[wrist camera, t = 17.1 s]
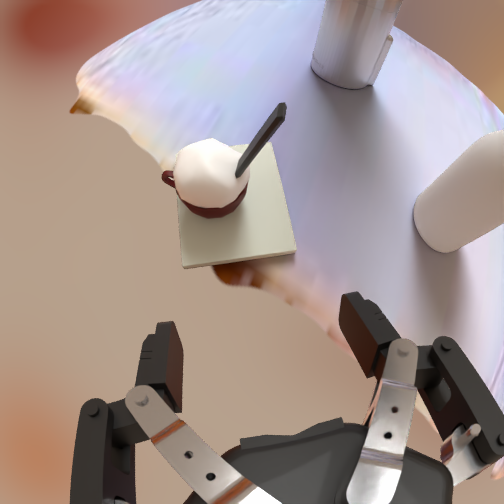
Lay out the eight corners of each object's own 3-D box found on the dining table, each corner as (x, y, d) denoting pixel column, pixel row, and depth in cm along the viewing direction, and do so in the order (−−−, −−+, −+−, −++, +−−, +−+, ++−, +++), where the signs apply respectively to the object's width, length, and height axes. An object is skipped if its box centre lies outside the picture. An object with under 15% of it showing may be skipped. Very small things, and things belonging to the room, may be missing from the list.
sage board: (270, 147, 29) (270, 142, 28) (294, 253, 25) (296, 249, 25) (177, 159, 28) (175, 154, 27) (184, 269, 25) (182, 266, 24)
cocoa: (162, 202, 26) (110, 119, 14) (200, 155, 27) (174, 62, 16) (246, 252, 24) (237, 177, 13) (282, 196, 26) (297, 101, 14)
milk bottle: (435, 266, 26) (580, 182, 7) (399, 207, 28) (516, 83, 8) (467, 237, 27) (581, 158, 8) (435, 185, 29) (532, 83, 10)
